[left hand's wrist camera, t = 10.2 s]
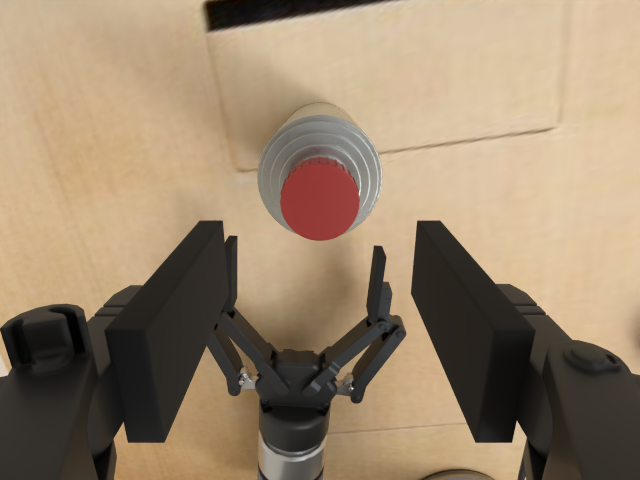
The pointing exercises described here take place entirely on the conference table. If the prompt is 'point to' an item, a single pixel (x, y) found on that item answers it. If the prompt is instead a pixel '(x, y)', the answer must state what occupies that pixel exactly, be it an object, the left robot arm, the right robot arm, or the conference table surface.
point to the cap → (319, 199)
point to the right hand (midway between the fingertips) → (305, 245)
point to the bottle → (319, 140)
